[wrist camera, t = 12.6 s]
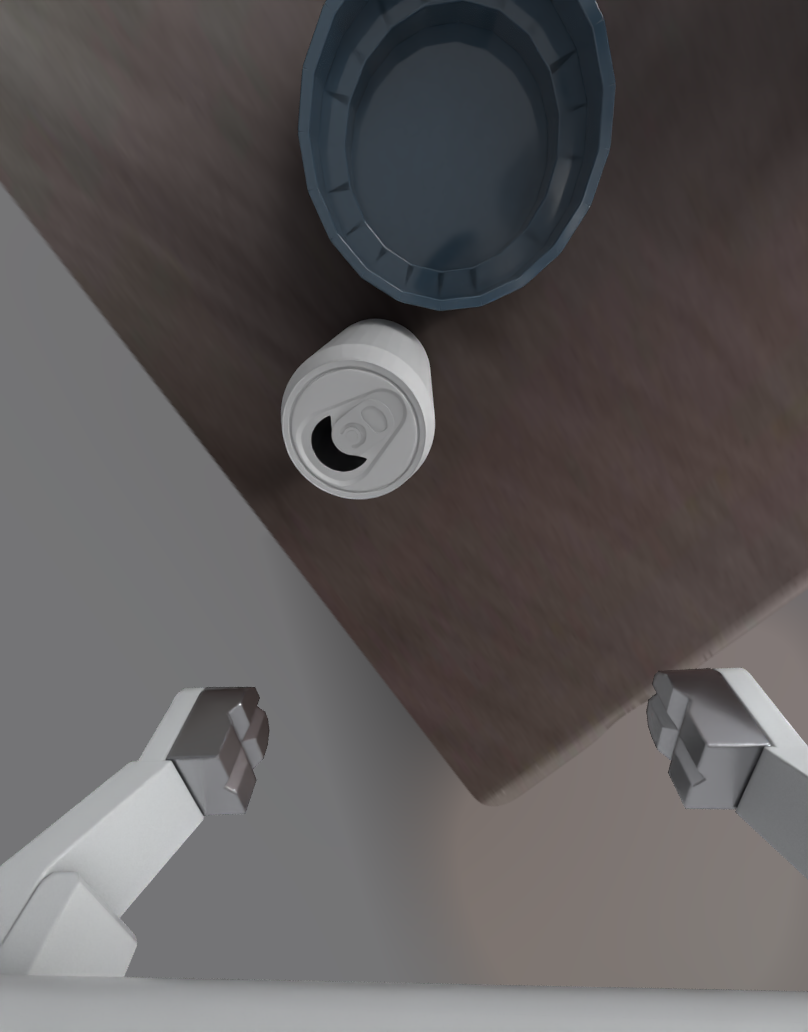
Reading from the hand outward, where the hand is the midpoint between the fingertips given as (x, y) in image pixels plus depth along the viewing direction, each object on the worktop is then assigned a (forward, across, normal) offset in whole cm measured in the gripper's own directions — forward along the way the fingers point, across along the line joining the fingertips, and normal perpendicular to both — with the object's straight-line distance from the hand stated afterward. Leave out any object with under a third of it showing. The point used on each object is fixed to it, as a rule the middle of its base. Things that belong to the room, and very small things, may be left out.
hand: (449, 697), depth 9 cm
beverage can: (+23, +3, -2) cm, 23 cm away
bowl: (+22, -2, -12) cm, 26 cm away
